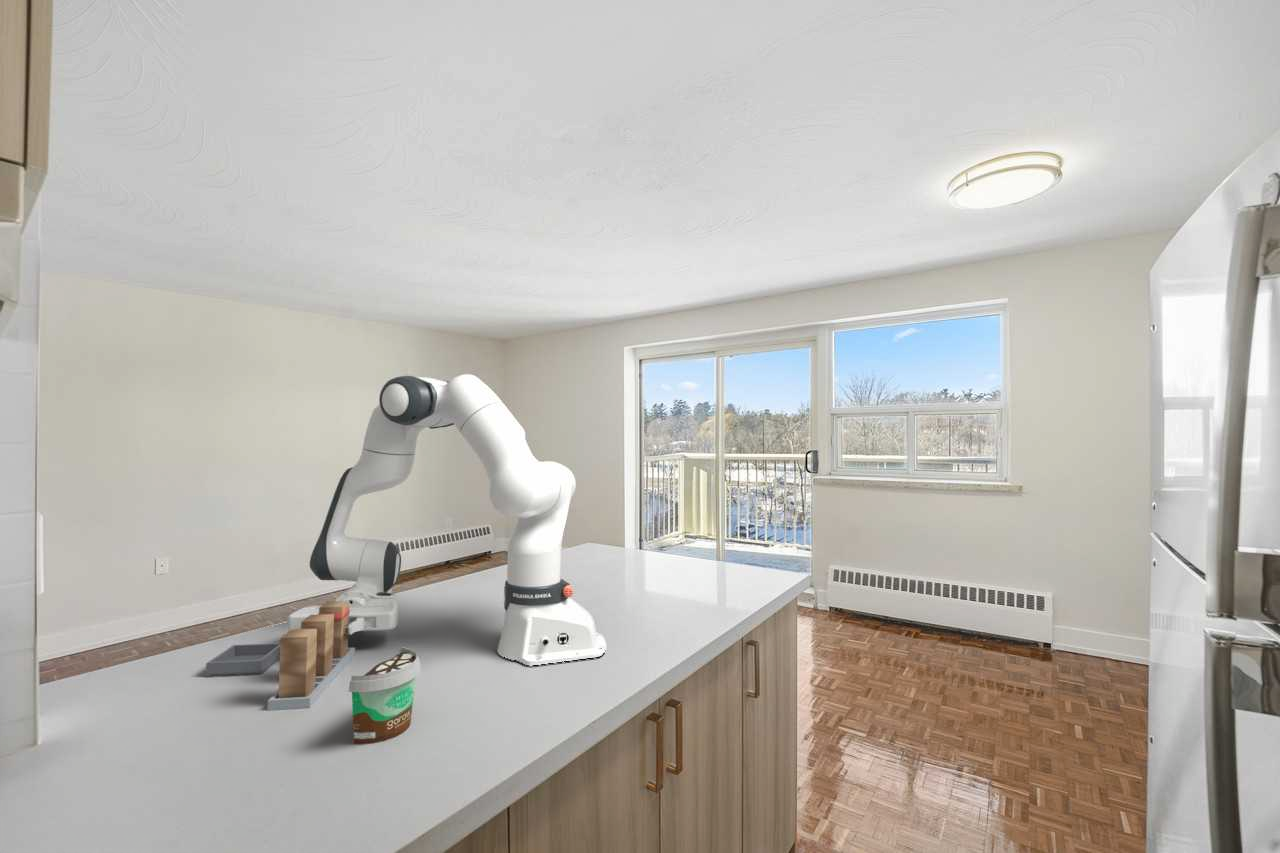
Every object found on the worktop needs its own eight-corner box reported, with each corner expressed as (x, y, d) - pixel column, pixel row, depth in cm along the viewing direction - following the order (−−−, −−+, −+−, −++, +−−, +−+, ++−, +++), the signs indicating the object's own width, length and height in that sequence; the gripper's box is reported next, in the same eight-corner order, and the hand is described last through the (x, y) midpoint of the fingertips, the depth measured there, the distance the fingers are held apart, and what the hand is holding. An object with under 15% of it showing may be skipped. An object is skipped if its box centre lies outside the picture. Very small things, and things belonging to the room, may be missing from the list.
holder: (354, 655, 112) (354, 647, 112) (309, 707, 90) (310, 698, 90) (321, 656, 111) (321, 648, 111) (267, 710, 89) (267, 700, 89)
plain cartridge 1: (314, 694, 95) (317, 628, 95) (305, 705, 91) (307, 636, 91) (289, 695, 94) (291, 629, 95) (278, 706, 90) (280, 637, 91)
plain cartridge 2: (332, 674, 103) (334, 614, 103) (323, 683, 99) (325, 621, 99) (308, 675, 102) (310, 614, 103) (299, 685, 98) (301, 621, 99)
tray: (283, 655, 111) (283, 642, 111) (261, 674, 102) (261, 660, 102) (232, 657, 110) (233, 644, 110) (205, 677, 101) (206, 663, 101)
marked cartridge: (347, 656, 111) (349, 600, 111) (340, 665, 107) (342, 606, 107) (324, 657, 110) (326, 601, 110) (316, 666, 106) (318, 607, 106)
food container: (385, 754, 77) (387, 681, 78) (346, 749, 79) (348, 677, 79) (435, 712, 90) (437, 649, 90) (400, 708, 91) (402, 645, 91)
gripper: (303, 596, 120) (273, 616, 106) (404, 593, 123) (388, 613, 110) (302, 626, 120) (272, 650, 106) (404, 622, 123) (387, 645, 110)
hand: (332, 631), depth 108 cm, fingers closed on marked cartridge, 4 cm apart
